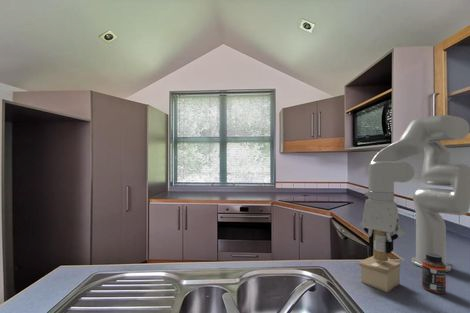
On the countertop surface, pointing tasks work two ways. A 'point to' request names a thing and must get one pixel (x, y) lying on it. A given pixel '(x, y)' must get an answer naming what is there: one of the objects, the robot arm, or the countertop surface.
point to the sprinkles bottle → (380, 246)
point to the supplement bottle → (434, 274)
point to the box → (380, 278)
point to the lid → (379, 265)
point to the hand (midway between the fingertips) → (380, 249)
